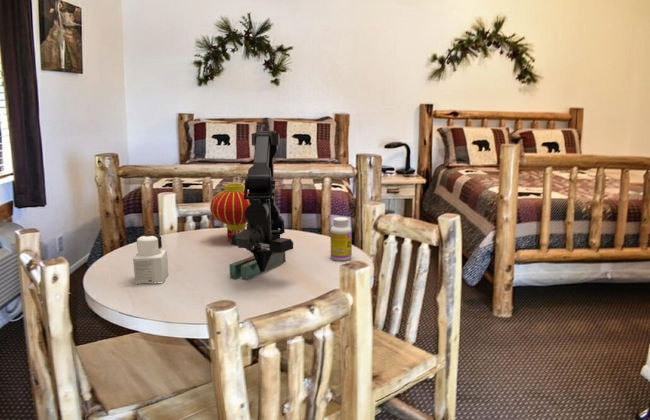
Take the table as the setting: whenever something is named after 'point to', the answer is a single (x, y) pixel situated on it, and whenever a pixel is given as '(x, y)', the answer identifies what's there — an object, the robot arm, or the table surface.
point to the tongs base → (236, 267)
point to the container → (150, 260)
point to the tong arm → (253, 270)
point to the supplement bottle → (341, 239)
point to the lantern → (231, 208)
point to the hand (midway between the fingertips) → (262, 271)
